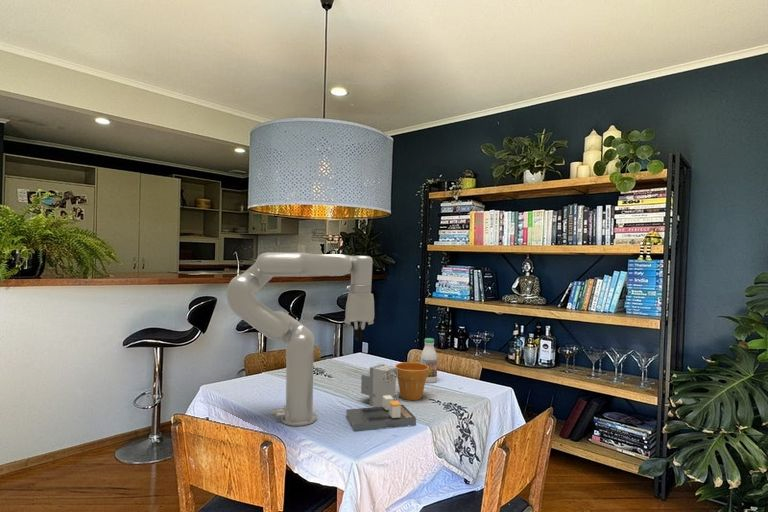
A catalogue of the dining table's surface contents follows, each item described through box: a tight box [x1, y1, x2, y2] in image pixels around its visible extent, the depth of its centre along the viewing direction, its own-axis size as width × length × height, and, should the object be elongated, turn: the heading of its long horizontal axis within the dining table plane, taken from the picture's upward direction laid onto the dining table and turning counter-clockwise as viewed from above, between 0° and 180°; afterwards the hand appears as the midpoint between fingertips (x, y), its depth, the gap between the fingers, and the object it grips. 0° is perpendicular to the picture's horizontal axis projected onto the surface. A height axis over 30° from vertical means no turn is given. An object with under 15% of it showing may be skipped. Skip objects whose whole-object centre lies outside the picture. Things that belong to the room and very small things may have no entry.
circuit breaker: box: [360, 363, 398, 407], centre depth 178 cm, size 8×14×15 cm, turn 51°
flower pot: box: [394, 361, 429, 401], centre depth 186 cm, size 14×14×13 cm
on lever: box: [382, 395, 393, 410], centre depth 164 cm, size 3×4×4 cm
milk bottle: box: [420, 337, 438, 384], centre depth 210 cm, size 8×8×20 cm
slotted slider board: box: [345, 404, 417, 432], centre depth 159 cm, size 22×14×3 cm, turn 107°
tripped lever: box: [389, 399, 402, 418], centre depth 157 cm, size 3×4×5 cm
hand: (358, 339), depth 161 cm, fingers closed
